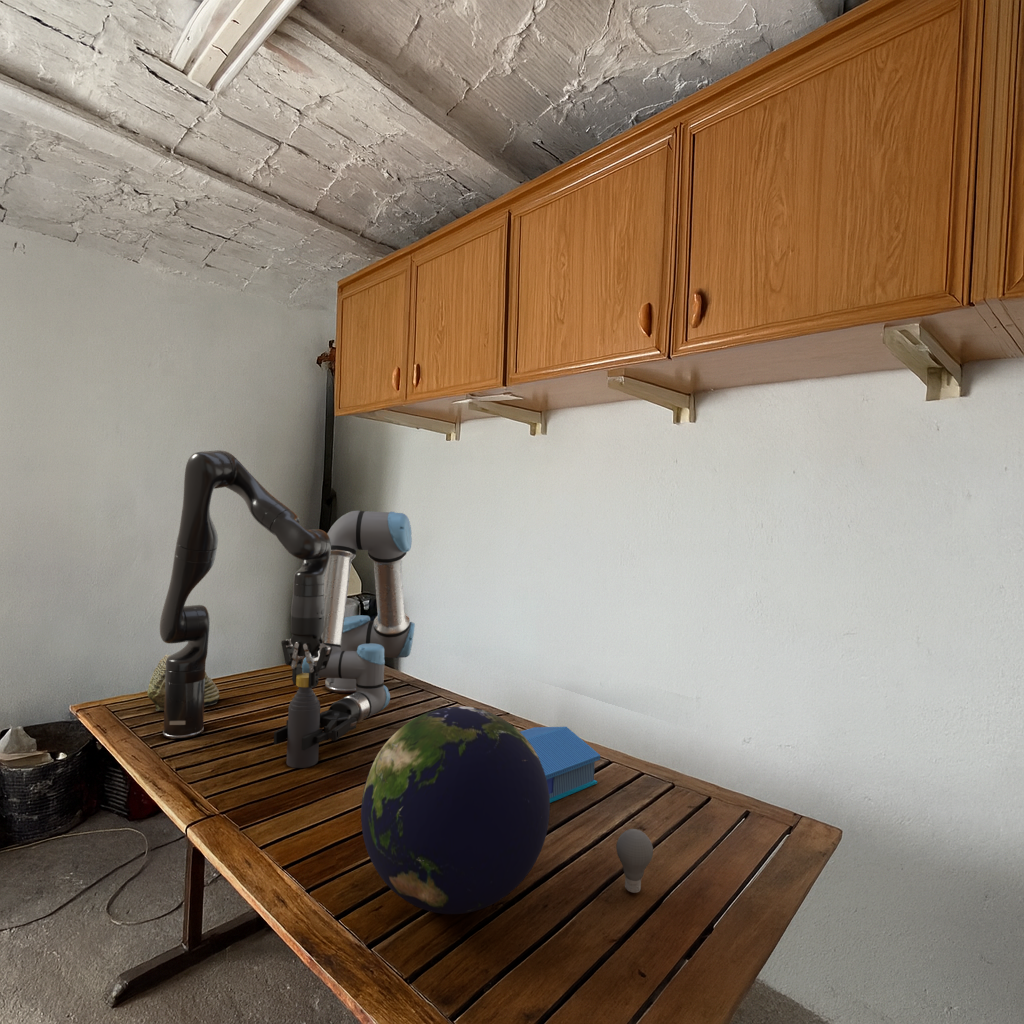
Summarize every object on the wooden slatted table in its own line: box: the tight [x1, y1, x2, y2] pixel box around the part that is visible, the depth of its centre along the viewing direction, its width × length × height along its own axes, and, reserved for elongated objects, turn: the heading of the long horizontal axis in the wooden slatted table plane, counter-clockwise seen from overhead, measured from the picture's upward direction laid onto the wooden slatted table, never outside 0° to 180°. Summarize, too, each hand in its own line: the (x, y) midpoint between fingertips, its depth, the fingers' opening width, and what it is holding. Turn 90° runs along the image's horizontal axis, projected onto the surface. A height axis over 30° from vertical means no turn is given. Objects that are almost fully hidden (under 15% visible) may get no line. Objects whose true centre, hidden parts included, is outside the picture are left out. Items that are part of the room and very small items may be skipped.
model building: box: [519, 726, 601, 804], centre depth 139 cm, size 39×24×10 cm, turn 132°
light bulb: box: [615, 828, 654, 894], centre depth 106 cm, size 6×6×10 cm
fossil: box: [147, 654, 221, 712], centre depth 185 cm, size 9×18×15 cm, turn 132°
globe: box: [360, 705, 551, 915], centre depth 102 cm, size 30×30×30 cm
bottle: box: [286, 687, 321, 769], centre depth 151 cm, size 7×7×20 cm
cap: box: [295, 672, 309, 688], centre depth 150 cm, size 4×4×2 cm
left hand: (305, 685), depth 150 cm, fingers closed on cap, 4 cm apart
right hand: (289, 741), depth 146 cm, fingers closed on bottle, 7 cm apart
